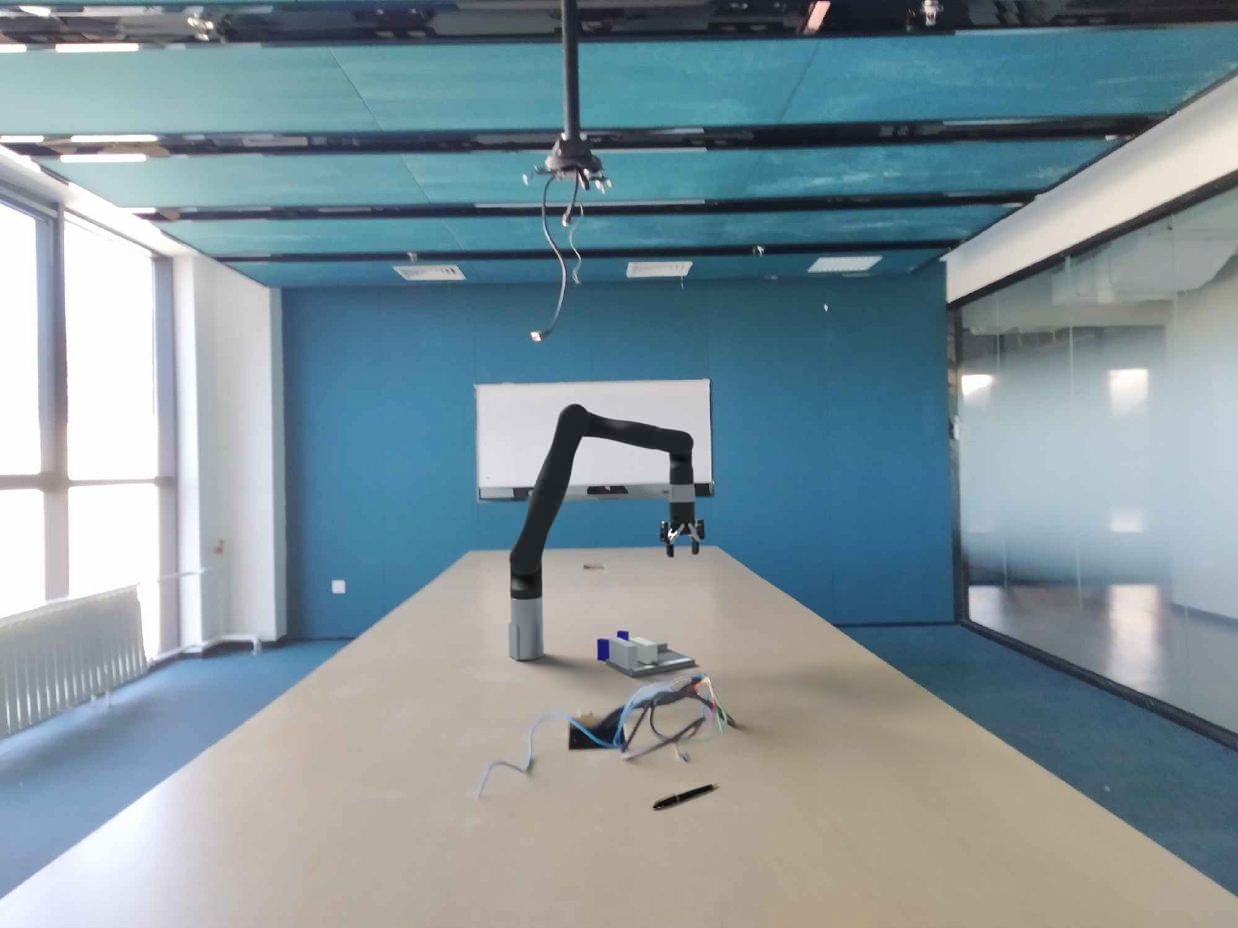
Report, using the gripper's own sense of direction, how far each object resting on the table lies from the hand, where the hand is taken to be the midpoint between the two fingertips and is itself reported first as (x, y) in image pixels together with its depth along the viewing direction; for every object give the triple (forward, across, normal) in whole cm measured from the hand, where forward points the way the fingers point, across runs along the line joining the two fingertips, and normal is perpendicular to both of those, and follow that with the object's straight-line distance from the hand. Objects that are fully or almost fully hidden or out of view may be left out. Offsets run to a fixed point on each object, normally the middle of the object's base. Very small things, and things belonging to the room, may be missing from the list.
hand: (683, 555), depth 206 cm
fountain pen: (+29, +50, +72) cm, 93 cm away
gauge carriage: (+26, +17, +6) cm, 32 cm away
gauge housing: (+28, +15, +5) cm, 32 cm away
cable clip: (+28, +19, -9) cm, 36 cm away
